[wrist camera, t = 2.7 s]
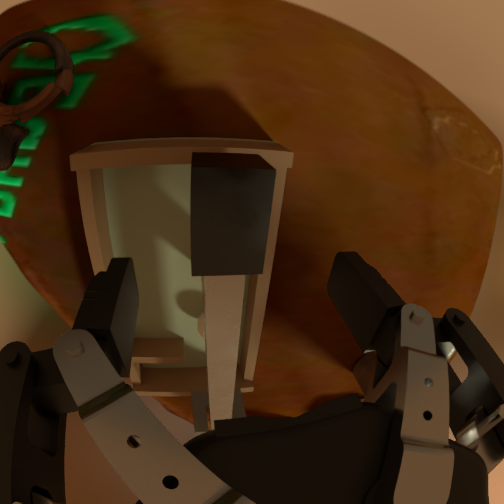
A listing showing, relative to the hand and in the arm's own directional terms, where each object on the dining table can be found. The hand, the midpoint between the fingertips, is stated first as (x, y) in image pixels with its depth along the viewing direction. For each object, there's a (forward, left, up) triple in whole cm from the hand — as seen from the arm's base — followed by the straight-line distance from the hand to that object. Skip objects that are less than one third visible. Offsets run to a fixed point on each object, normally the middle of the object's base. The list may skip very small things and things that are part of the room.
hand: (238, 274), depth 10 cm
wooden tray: (+3, +12, -16) cm, 20 cm away
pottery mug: (+18, -9, -16) cm, 25 cm away
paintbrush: (0, +13, -13) cm, 19 cm away
